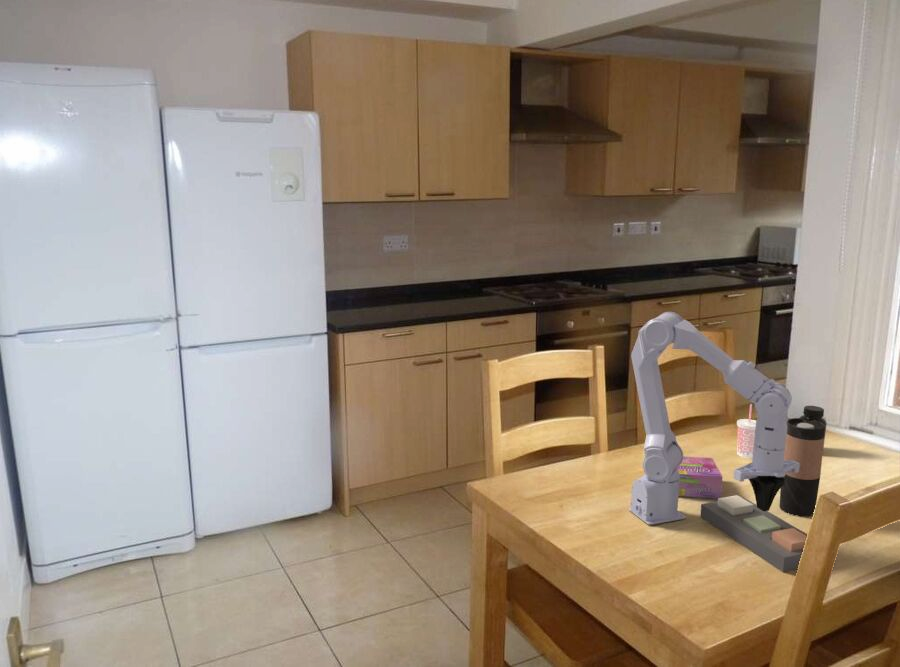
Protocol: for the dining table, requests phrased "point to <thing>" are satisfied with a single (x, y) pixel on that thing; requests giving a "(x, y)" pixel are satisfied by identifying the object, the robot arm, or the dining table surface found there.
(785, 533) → the terracotta button
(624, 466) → the dining table surface
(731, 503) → the cream button
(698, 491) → the box
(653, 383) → the robot arm
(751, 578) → the dining table surface
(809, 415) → the supplement bottle
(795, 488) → the travel mug
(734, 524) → the console
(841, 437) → the dining table surface
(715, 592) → the dining table surface
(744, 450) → the beverage cup
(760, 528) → the sage button
